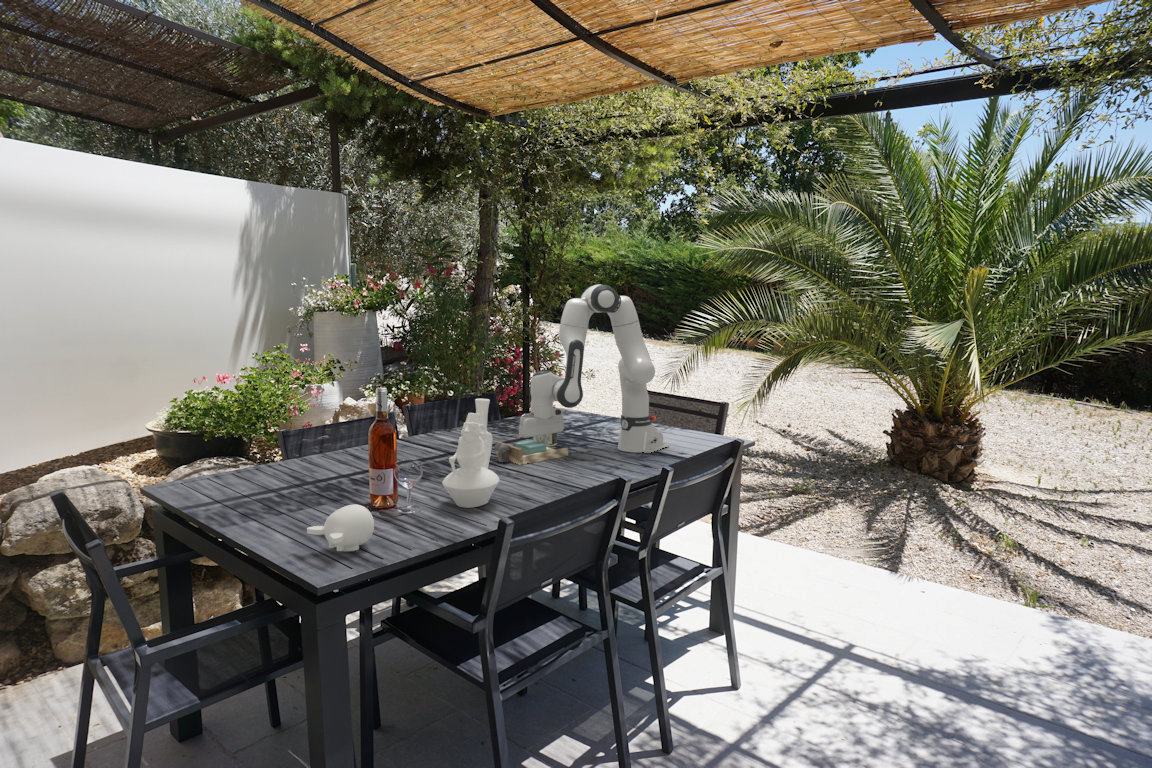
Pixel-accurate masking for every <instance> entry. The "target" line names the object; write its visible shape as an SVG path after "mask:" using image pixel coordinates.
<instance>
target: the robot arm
mask: <svg viewBox="0 0 1152 768" xmlns="http://www.w3.org/2000/svg"><path fill="white" fill-rule="evenodd" d="M594 313H597V314H599V313H600V314H601V313H606V314H607V315H608V316H609V319H610V323H611V327H612V333H613V336H614V340H615V344H616V345H615V346H616V347H617V349H618V351H619V353H620V355H621V358H620V359H619V361H618V363H617V365H618V366H617V367H618V368H617V369H618V372H619V383H620V389H621V415H620V433H619V434H620V435H619V440H618V444H617V449H618V450H619V451H622V452H627V453H642V452H644V453H647V454H651V452H652V453H655V452H658V451H661V450H663V449H662V448H664V449H666V448H665V447H667V448H669V447H670V444H669V443H666V442H665V441H664V435H663V432H662V431H661V430H660V429H658V427H656V426H655V425H654V424H653V423H652V421H654V422H656V420H657V416H656V415H650V414H649V413H650V410H649V409H650V395H649V392H648V387H647V384H648V383H650V382H652V381H653V379H654V378H655V375H656V368H655V366H654V364H653V362H652V359H651V356H650V353H649V351H648V348H647V346H646V342H645V340H644V335H643V332H642V328H641V325H640V320H639V316H638V312H637V309H636V307H635V305H634V302H633V300H632V299H631V298H630V296H627V295H619V294H618V293H617V291H616V290H615V289H614V288H613V287H611V286H610V285H608V284H599V283H597V284H594V285H590V286H588V287H586V288H585V290H583V291H582V293H581V294H580V296H579V297H575V298H571V299H569V300H567V302H566V303H565V306H564V307H563V311H562V315H561V319H560V324H559V328H558V329H559V331H558V332H559V333H558V335H559V336H558V339H559V343H560V345H561V346H562V348H563V350H564V352H565V355H566V364H565V371H564V373H565V374H564V377H561V376H559V375H557V374H554V373H553V372H552V371H550V370H540V371H536V372H534V373H533V374H532V375H531V380H530V396H531V398H530V399H531V400H530V412H529V413H523V414H522V415H521V416H520V417H519V426H518V435H519V437H521V438H525V439H526V438H532V437H533V438H534V436H535V438H536V440H537V441H538V442H540V443H543V444H546V440H547V438H548V434H551V433H557V434H558V433H562V432H563V431H564V429H565V421H564V416H563V415H564V410H563V409H561V408H558V407H555V406H554V402H558V403H559V404H560V405H561V406H562V407H564V408H566V409H567V408H569V409H571V408H576V407H577V406H579V404H580V403H581V402H582V400H583V398H584V391H583V387H582V373H583V371H582V370H583V366H584V365H583V364H584V363H583V362H584V354H585V353H584V352H585V345H586V340H587V335H588V328H589V321H590V319H591V317H592V315H593V314H594ZM541 435H542V436H543V439H542V441H541V440H540V438H541ZM668 446H669V447H668ZM660 449H661V450H660ZM657 450H658V451H657ZM654 451H655V452H654Z"/></svg>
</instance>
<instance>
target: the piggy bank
mask: <svg viewBox="0 0 1152 768" xmlns="http://www.w3.org/2000/svg"><path fill="white" fill-rule="evenodd" d="M374 531H375V521H374V517H373V515H372V512H370V510H369V509H368V508H367V507H366V506H364V505H361V504H348V505H345V506H342V507H340V508H338V509H336V510H335V511H333V512H332V513H331V514H330V515H329V516H327V518H326V519H325V522H324V525H313V526H309V527H307V528H306V534H309V535H313V536H319V535H320V536H321V535H324V537H325V539H326V541H327V542H328V548H329V549H334V548H336V552H355V550H356V551H358V550H359V549H360V545H363V544H365V543H366V542H367V541H369V540H370V538H371V537H372V535H373V534H374Z"/></svg>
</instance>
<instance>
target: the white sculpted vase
mask: <svg viewBox="0 0 1152 768" xmlns="http://www.w3.org/2000/svg"><path fill="white" fill-rule="evenodd" d="M474 402H475V403H474V404H475V413H474V412H467V413H468V414H467V416H466V419H465V422H463V424H462V429H461V430H460V434H461V436H460V437H459V438H458V440H457V443H458V444H457V449H456V451H455V453H454V455H453V456H450V457H449V458H448V462H449V464H450V466H451V472H450V473H449V474H447V476H446V477H444V479H443V480H442V482H441V484H442V485H443V487H444V488H445V490H446V492H448V494H449V496H450V497H451V498H452V500H453V502H454V503H455V505H456V507H457V506H458V507H460V508H466V509H468V508H469V509H471V508H477V507H482V506H485V505H486V504H488V503H489V501H490V498H491V497H492V494H493V493H494V492H495V491H494V490H496V487H497V486H498V484H499V483H500V477H499V476H498V475H497V473H495V472H494V471H493V470H491V469H489V466H490V465H489V464H490V459H491V454H492V447H493V434H492V433H491V432H490V431H488V430H487V429H488V416H489V415H488V413H489V407H490V406H489V405H490V403H491V400H490V399H489V398H482V397H481V398H475V399H474ZM456 461H457V464H459V467H458V468H456V465H455V462H456Z"/></svg>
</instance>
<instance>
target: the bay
mask: <svg viewBox="0 0 1152 768" xmlns="http://www.w3.org/2000/svg"><path fill="white" fill-rule="evenodd" d="M494 451H496V452H495V453H496V455H495V456H498V457H497V458H498V459H497V460H498V461H500V462H505V463H508V462H509V461H511V462H510V463H512V462H513V464H515V463H516V464H515V465H517V464H518V466H523V465H527V463H529V464H534V463H538V462H544V461H549V460H554V459H559V458H564V457H568V456H569V448H568V447H563V448H562V447H561V448H559V449H558V448H557V449H556V448H552V447H546V452H540V453H535V454H529V455H523V449H521V448H518V447H515V445H511V444H507V443H505V442H502V441H496V442H495V444H494ZM507 460H508V461H507ZM498 461H497V462H498ZM500 462H499V463H500ZM533 462H534V463H533ZM522 464H523V465H522Z"/></svg>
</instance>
